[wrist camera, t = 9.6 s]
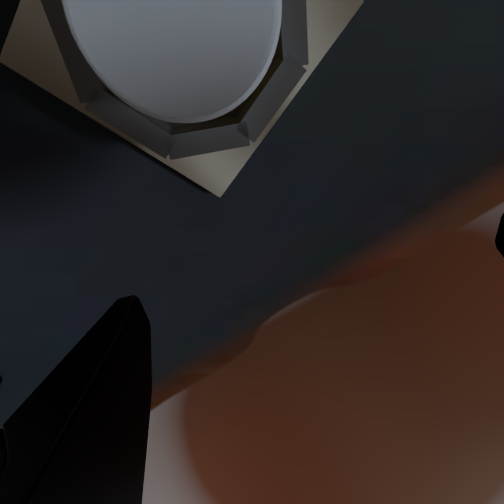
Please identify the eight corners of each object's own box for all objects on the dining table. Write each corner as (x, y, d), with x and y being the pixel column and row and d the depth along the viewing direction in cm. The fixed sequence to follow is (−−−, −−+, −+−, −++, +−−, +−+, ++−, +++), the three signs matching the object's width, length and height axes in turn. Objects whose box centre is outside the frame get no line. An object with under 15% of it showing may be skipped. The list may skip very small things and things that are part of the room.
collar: (219, 191, 20) (223, 218, 17) (6, 59, 15) (-35, 66, 12) (356, 2, 16) (391, -3, 13) (127, -260, 11) (107, -353, 8)
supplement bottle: (93, 44, 14) (-24, 69, 6) (142, -109, 12) (57, -362, 4) (210, 111, 17) (232, 192, 9) (270, -11, 14) (374, -55, 6)
